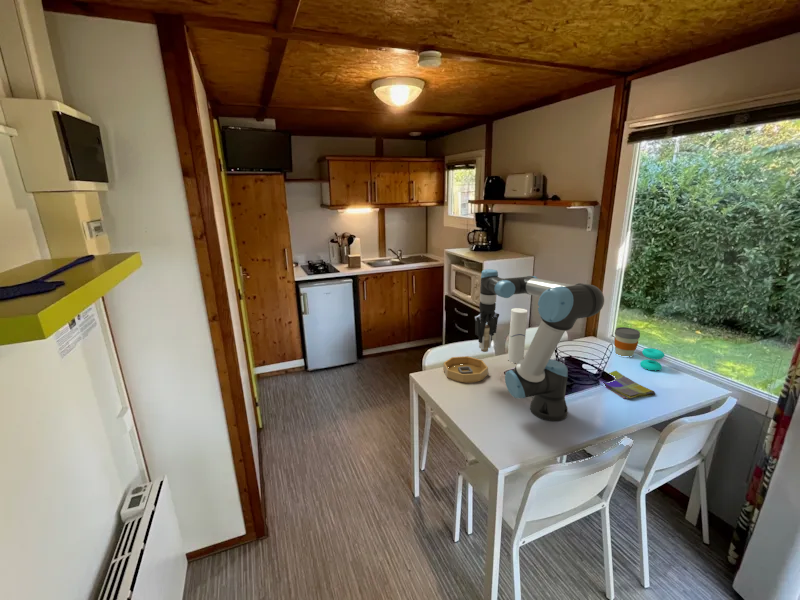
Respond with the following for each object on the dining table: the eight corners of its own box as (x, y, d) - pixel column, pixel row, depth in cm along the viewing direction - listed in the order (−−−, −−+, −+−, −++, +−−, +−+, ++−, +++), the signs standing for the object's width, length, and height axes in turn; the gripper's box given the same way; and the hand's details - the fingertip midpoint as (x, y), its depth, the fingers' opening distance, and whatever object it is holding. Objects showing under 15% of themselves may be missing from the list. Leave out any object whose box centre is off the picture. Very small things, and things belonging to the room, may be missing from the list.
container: (525, 363, 210) (529, 312, 202) (509, 363, 210) (513, 312, 202) (520, 357, 218) (524, 308, 210) (506, 357, 218) (509, 308, 210)
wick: (489, 351, 183) (490, 326, 179) (482, 352, 183) (483, 327, 179) (486, 348, 186) (488, 324, 182) (480, 349, 186) (481, 324, 182)
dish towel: (616, 373, 198) (617, 369, 197) (657, 396, 175) (658, 391, 174) (588, 378, 194) (589, 373, 193) (627, 402, 171) (628, 396, 170)
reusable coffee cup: (640, 355, 218) (644, 331, 214) (629, 361, 212) (633, 336, 208) (619, 348, 228) (622, 325, 224) (607, 353, 222) (610, 329, 218)
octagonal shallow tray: (492, 381, 190) (492, 372, 189) (450, 384, 188) (450, 375, 187) (478, 363, 211) (478, 355, 210) (440, 365, 209) (440, 358, 207)
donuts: (647, 345, 207) (668, 351, 199) (644, 362, 210) (664, 368, 202) (639, 350, 201) (660, 356, 194) (636, 367, 204) (657, 373, 196)
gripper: (496, 297, 184) (493, 342, 190) (468, 302, 177) (466, 347, 184) (506, 301, 177) (503, 347, 184) (478, 306, 171) (475, 353, 177)
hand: (484, 347), depth 184 cm, fingers closed on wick, 3 cm apart
